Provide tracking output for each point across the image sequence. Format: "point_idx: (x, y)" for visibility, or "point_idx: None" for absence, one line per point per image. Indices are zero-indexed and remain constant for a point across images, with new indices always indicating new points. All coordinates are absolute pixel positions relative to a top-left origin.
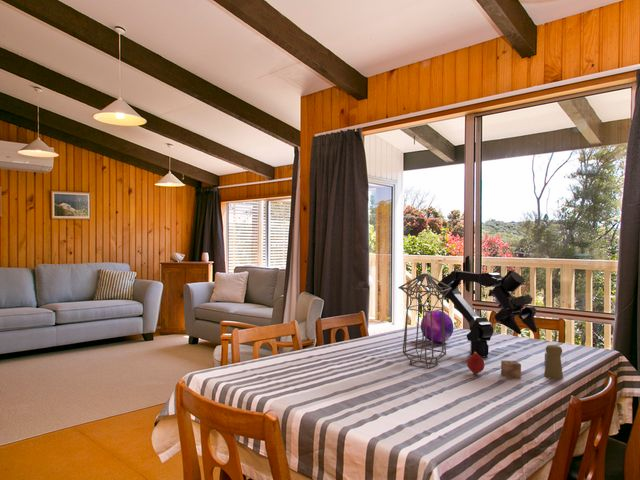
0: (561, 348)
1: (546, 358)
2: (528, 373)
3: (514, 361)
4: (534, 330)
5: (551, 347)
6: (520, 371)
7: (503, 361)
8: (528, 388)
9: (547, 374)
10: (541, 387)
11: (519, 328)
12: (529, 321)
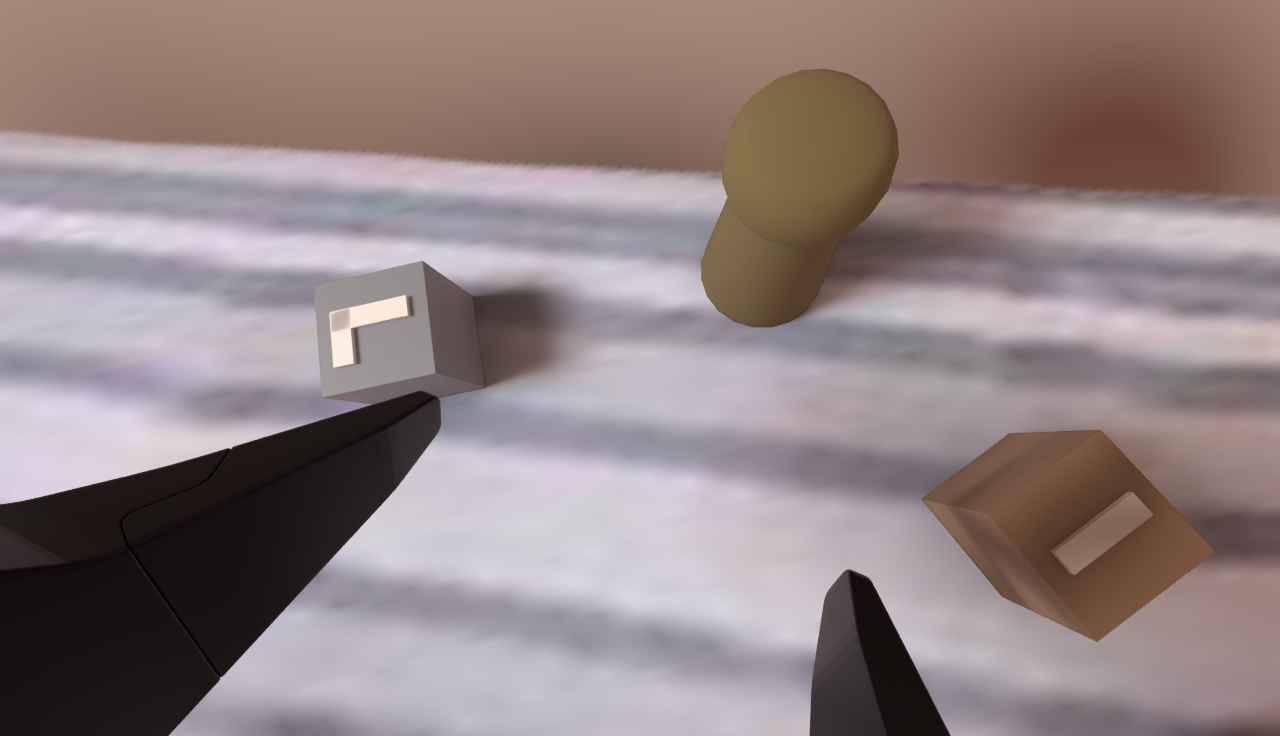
0: (801, 72)
1: (455, 366)
2: (805, 426)
3: (1030, 513)
4: (419, 435)
5: (895, 143)
6: (1051, 435)
7: (1128, 608)
8: (1242, 322)
9: (818, 289)
10: (1132, 262)
11: (869, 654)
12: (202, 583)
